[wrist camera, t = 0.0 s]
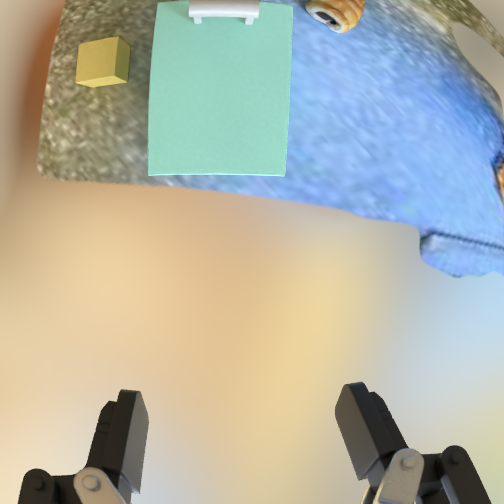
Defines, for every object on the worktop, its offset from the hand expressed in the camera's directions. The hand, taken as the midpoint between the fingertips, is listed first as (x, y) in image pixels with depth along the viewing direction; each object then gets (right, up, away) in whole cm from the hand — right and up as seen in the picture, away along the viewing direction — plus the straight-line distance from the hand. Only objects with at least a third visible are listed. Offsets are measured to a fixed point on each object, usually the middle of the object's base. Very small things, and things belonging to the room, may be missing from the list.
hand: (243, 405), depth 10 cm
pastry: (+11, +38, +17) cm, 43 cm away
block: (-17, +29, +18) cm, 38 cm away
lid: (-3, +21, +13) cm, 25 cm away
